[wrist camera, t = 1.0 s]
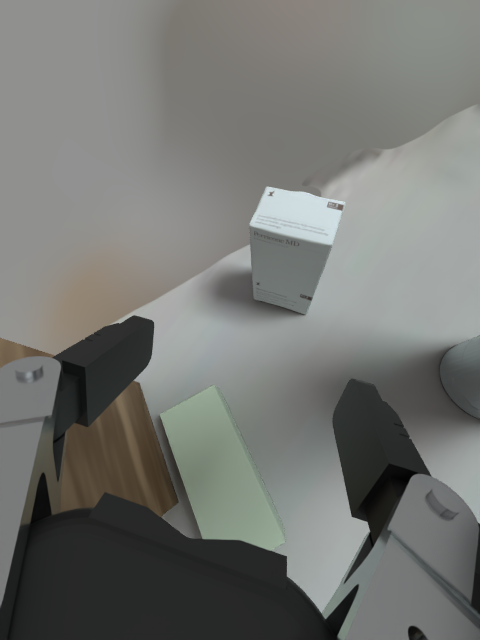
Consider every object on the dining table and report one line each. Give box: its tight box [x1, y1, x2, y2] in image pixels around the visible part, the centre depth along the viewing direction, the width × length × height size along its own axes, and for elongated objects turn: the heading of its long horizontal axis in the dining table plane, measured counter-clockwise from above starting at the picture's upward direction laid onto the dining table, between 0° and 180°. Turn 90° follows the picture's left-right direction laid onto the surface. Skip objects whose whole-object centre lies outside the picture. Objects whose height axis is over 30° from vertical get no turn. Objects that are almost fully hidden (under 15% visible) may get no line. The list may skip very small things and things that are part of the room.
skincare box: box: [249, 187, 346, 314], centre depth 30 cm, size 8×6×15 cm
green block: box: [160, 385, 286, 551], centre depth 27 cm, size 7×16×4 cm, turn 27°
